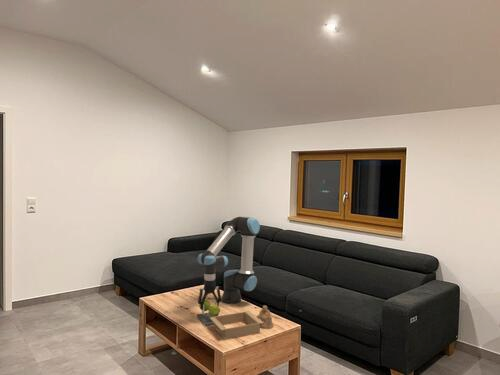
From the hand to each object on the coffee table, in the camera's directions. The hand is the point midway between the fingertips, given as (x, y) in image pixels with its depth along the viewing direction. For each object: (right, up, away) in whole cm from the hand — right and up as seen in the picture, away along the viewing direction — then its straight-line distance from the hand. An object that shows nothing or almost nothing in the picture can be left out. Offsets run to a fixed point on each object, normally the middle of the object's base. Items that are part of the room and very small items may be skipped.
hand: (209, 313), depth 260 cm
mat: (0, -5, 0) cm, 5 cm away
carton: (+18, -5, -15) cm, 24 cm away
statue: (+36, -6, -9) cm, 38 cm away
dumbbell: (0, -1, 0) cm, 1 cm away
